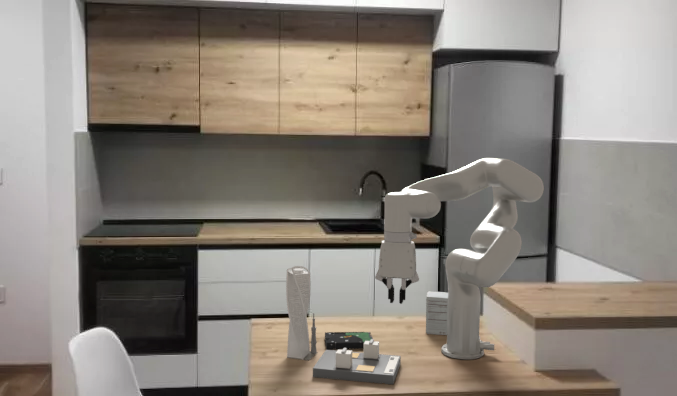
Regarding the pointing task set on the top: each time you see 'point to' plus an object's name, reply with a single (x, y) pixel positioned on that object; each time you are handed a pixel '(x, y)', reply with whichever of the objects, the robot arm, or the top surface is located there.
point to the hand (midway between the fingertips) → (396, 301)
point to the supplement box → (436, 313)
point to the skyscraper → (299, 314)
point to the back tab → (371, 349)
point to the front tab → (344, 358)
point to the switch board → (359, 368)
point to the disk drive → (346, 340)
